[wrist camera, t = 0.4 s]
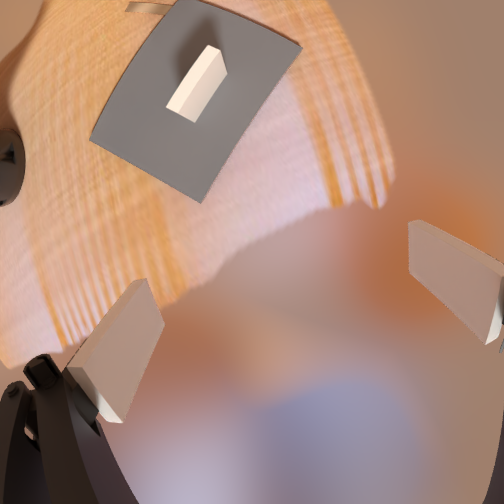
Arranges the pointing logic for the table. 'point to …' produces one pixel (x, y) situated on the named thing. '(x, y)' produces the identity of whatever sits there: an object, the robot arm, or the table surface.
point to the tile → (198, 84)
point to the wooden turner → (148, 8)
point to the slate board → (168, 79)
